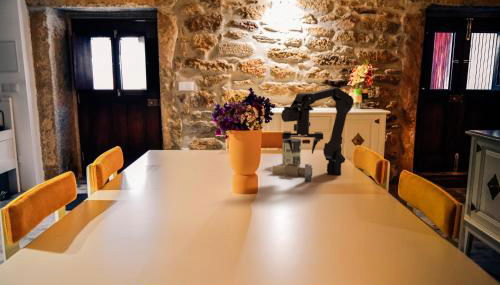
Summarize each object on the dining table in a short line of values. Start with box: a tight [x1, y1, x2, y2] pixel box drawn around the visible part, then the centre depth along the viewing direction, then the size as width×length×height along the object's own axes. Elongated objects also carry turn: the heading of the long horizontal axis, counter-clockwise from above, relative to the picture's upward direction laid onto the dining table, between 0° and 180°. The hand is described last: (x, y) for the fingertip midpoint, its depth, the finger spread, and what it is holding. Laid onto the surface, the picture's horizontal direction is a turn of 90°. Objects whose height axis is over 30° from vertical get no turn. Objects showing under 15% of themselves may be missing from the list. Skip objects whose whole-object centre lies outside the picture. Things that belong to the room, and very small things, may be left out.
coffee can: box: [281, 137, 302, 166], centre depth 201 cm, size 10×10×14 cm
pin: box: [304, 163, 313, 183], centre depth 170 cm, size 3×3×8 cm
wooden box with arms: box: [272, 163, 313, 178], centre depth 182 cm, size 20×6×5 cm, turn 74°
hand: (302, 153), depth 173 cm, fingers open, 9 cm apart
